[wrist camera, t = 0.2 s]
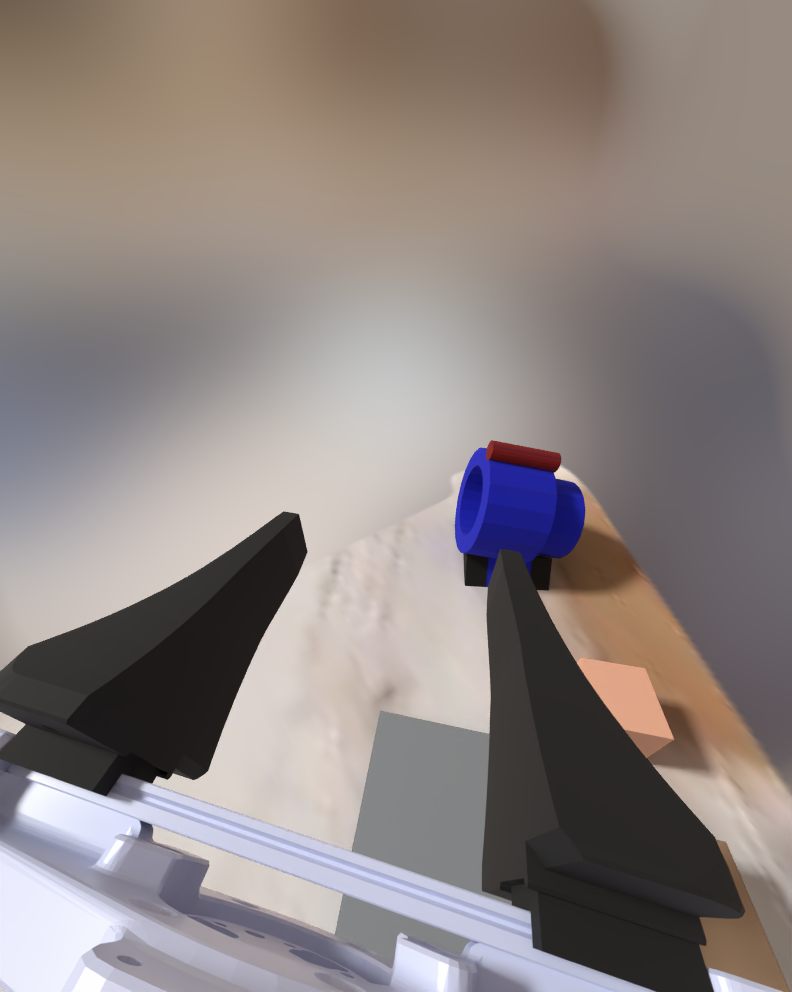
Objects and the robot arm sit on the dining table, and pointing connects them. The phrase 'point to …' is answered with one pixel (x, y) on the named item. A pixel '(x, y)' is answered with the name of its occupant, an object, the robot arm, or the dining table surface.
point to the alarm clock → (516, 511)
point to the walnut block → (741, 940)
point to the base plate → (420, 822)
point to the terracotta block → (630, 702)
